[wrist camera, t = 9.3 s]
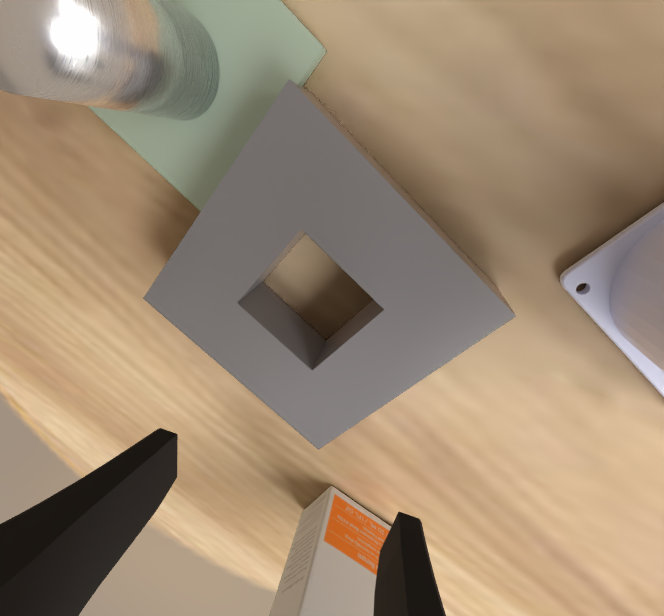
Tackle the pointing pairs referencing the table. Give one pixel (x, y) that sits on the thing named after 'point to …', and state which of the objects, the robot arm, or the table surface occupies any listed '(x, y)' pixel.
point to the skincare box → (332, 560)
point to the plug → (109, 55)
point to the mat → (224, 93)
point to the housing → (347, 251)
